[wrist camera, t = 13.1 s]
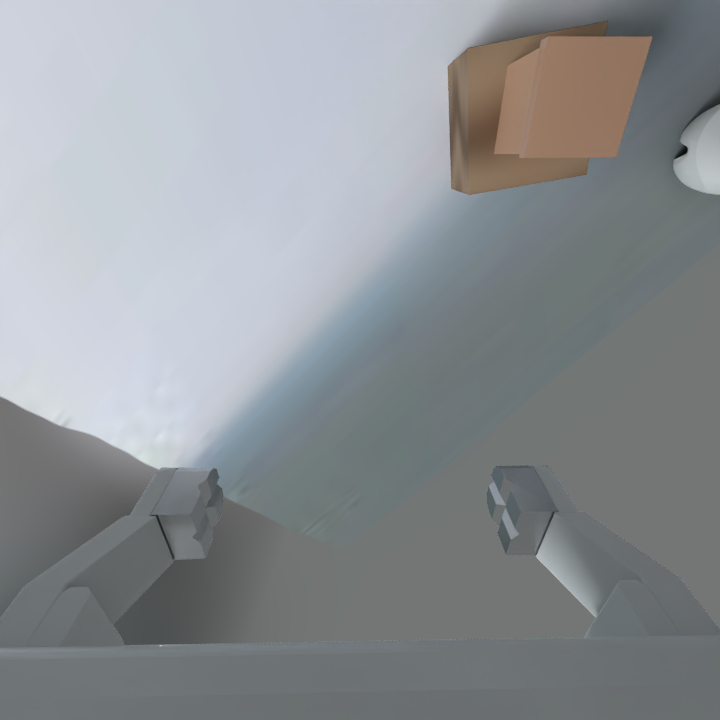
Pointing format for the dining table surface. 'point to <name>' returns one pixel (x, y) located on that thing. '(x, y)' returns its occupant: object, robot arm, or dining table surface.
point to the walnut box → (497, 118)
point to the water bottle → (701, 153)
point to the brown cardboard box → (570, 97)
